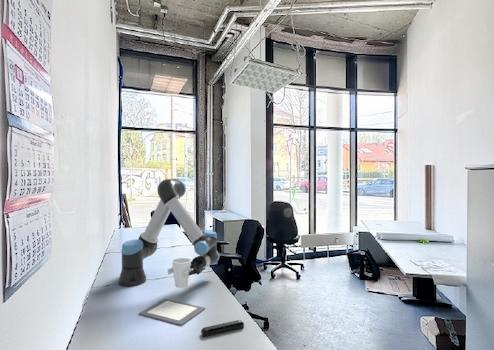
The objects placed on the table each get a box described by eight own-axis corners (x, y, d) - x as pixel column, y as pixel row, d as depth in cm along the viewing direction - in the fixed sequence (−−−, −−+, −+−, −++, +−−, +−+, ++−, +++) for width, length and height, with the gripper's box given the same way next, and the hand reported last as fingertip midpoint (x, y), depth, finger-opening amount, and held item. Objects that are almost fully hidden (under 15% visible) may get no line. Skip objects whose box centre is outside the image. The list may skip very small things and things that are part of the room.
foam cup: (194, 284, 167) (194, 260, 167) (182, 290, 159) (182, 264, 159) (180, 281, 172) (181, 257, 172) (168, 286, 164) (168, 261, 164)
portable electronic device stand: (202, 338, 125) (202, 330, 125) (200, 335, 127) (200, 327, 127) (244, 328, 132) (244, 321, 132) (241, 326, 135) (241, 319, 135)
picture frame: (138, 314, 144) (138, 312, 144) (165, 299, 160) (165, 298, 160) (181, 325, 134) (181, 324, 134) (205, 309, 150) (205, 307, 150)
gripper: (217, 271, 177) (194, 284, 157) (184, 265, 187) (159, 277, 166) (217, 258, 177) (194, 269, 157) (185, 253, 186) (159, 262, 166)
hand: (176, 273), depth 162 cm, fingers closed on foam cup, 9 cm apart
